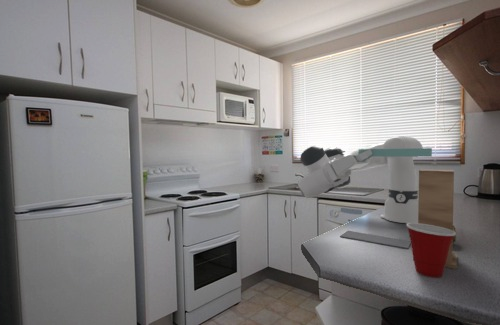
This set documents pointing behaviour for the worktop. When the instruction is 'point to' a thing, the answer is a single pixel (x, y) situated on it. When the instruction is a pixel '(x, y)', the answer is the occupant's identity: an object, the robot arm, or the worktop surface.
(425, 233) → the plastic cup
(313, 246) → the worktop surface
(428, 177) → the stand
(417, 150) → the block
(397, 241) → the mat
